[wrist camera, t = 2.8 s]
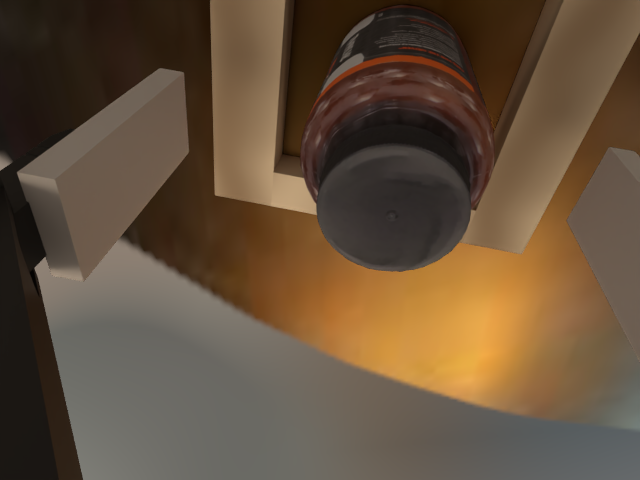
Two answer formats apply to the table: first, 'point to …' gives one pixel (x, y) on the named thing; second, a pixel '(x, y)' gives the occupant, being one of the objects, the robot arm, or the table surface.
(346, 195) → the supplement bottle
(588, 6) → the oak holder
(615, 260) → the robot arm
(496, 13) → the table surface
